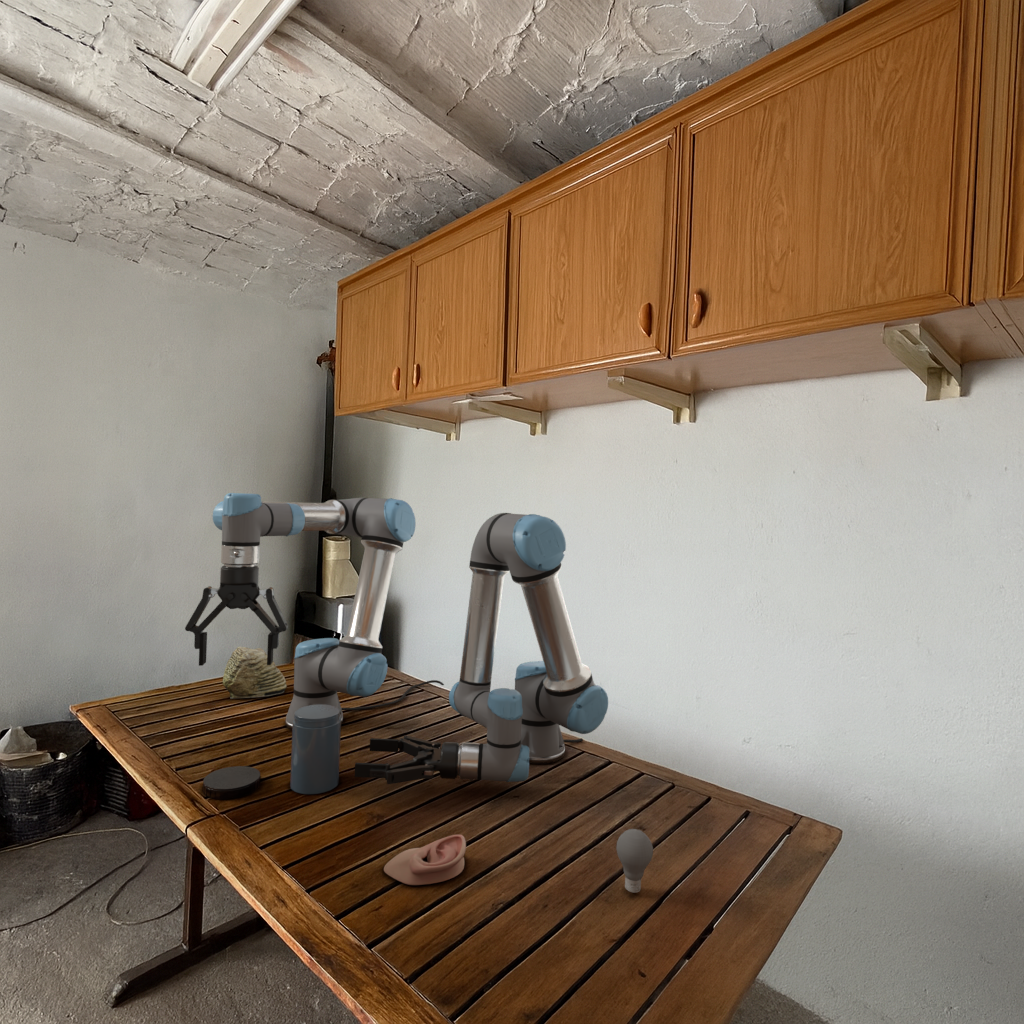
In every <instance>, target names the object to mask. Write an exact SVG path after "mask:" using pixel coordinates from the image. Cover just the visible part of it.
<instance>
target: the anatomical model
mask: <svg viewBox="0 0 1024 1024" xmlns="http://www.w3.org/2000/svg"><path fill="white" fill-rule="evenodd" d="M466 851H467V841H466V838H465V836H464V835H463V834H452V835H448V836H445V837H442V838H439V839H437V840H435V841H432V842H430V843H428V844H426V845H424V846H421V847H412V848H409V849H405V850H403V851H402V852H400V853H398V854H395V856H394V857H392V858H391V859H390V860H389V861H387V863H386V864H385V865H384V867H383V872H384V873H385V874H386V875H387V876H389V877H390V878H392V879H394V880H395V881H398V882H400V883H402V884H405V885H407V886H408V885H409V886H422V885H431V884H437V883H441V882H445V881H448V880H450V879H453V878H455V877H457V876H458V875H460V874H461V873H462V872H463V870H464V868H465V857H464V856H465V854H466Z"/></svg>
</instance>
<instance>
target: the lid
mask: <svg viewBox="0 0 1024 1024" xmlns="http://www.w3.org/2000/svg"><path fill="white" fill-rule="evenodd" d="M261 777H262V776H261V772H260V771H259V769H258V768H256V767H252V766H246V765H237V766H235V765H234V766H228V767H223V768H219V769H217V770H214V771H212V772H210V773H208V774H207V775H206V776H205V777H203V780H202V793H203V795H204V796H205V797H207V798H210V799H212V800H225V801H226V800H234V799H239V798H243V797H246V796H249V795H251V794H252V793H254V792H256V791H257V790H258V789H259V788H260V786H261Z"/></svg>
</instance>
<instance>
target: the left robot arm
mask: <svg viewBox="0 0 1024 1024" xmlns="http://www.w3.org/2000/svg"><path fill="white" fill-rule="evenodd" d="M212 522H213V524H214V526H215V527H216V528H217V529H218V530H220V531H221V549H220V563H221V564H222V566H221V567H220V577H219V579H220V581H219V587H218V588H217V587H212V586H210V585H209V586H206V587H205V588H203V590H202V598H201V599H200V601H199V602H198V604H197V606H196V608H195V610H194V612H193V613H192V615H191V617H190V619H189V620H188V622H187V623H186V625H185V627H184V630H185V631H186V632H191V633H193V634H194V643H193V646H194V647H193V648H194V649H195V650H199V651H198V666H199V667H201V666H204V665H205V664H206V663H207V648H208V632H207V631H204V630H205V629H206V628H207V627H209V625H210V624H211V623H212V622H213V621H214V620H215V619H216V618H217V617H218V616H219V614H221V613H222V611H223V610H224V609H226V608H228V609H229V610H235V609H239V610H247V609H248V608H249V609H250V610H251V612H253V614H255V615H256V616H257V617H258V619H259V620H260V621H261V622H262V623H263V624H264V626H265V627H266V628H267V629H268V630H269V631H270V632H268V634H267V652H266V654H267V665H271V664H272V662H273V661H274V650H276V649H278V647H279V642H280V633H284V632H286V631H287V630H288V628H289V624H288V623H287V620H286V618H285V616H284V614H283V612H282V610H281V608H280V606H279V604H278V602H277V600H276V598H275V590H274V587H271V586H269V587H267V588H260V586H259V575H260V573H259V571H260V567H259V566H258V565H257V564H259V563H260V547H261V537H289V536H296V535H298V534H300V533H301V532H314V531H318V532H319V531H322V532H323V531H324V532H326V533H327V534H330V535H331V534H332V535H345V536H351V537H355V538H361V539H360V543H361V545H362V546H363V547H364V552H363V556H362V561H361V565H360V570H359V575H358V580H357V584H356V585H357V586H356V588H355V594H354V598H353V603H352V607H351V613H350V617H349V618H350V619H349V622H348V627H347V632H346V635H345V636H343V637H342V638H340V639H338V638H335V637H324V638H323V637H322V638H313V639H308V640H304V641H302V642H299V643H298V644H297V645H296V647H295V652H294V653H295V654H294V657H293V659H294V660H293V662H294V663H293V665H294V666H293V695H292V696H293V697H292V699H291V702H290V704H289V708H288V711H287V713H286V715H285V726H286V728H287V729H289V730H292V724H293V720H294V719H295V718H294V713H295V711H296V710H297V709H299V708H302V707H305V706H309V705H319V704H323V705H332V706H335V707H337V708H339V710H340V717H341V724H342V723H343V722H344V714H343V711H361V710H362V711H363V710H370V709H375V708H376V709H377V708H382V707H386V706H390V705H393V704H397V703H399V702H401V701H402V700H403V699H405V698H406V696H407V694H409V692H410V691H411V690H413V689H415V688H418V687H421V686H424V685H429V684H433V683H436V684H439V685H441V686H445V684H444V683H443V681H440V680H436V679H433V680H427V681H423V682H420V683H417V684H414V685H412V686H410V687H408V688H407V689H406V691H405V692H404V693H403V694H402V696H401V697H400V698H398V699H396V700H395V699H394V700H393V701H388V702H385V703H379V704H374V705H367V706H358V707H342V706H341V702H340V699H339V695H338V693H342V694H347V695H350V696H352V697H361V698H362V697H366V698H367V697H370V696H372V695H373V694H375V693H376V692H377V691H378V690H379V689H380V688H381V687H382V685H383V684H384V682H385V679H386V677H387V674H388V669H389V668H388V662H387V661H388V660H387V658H386V656H385V655H383V654H382V653H383V645H382V644H381V642H380V640H379V638H380V633H381V630H382V623H383V620H384V613H385V609H386V604H387V599H388V593H389V590H390V584H391V579H392V574H393V570H394V564H395V560H396V555H397V554H398V553H400V552H401V551H402V550H403V547H404V543H405V542H408V541H410V540H411V539H412V538H413V536H414V534H415V531H416V526H417V525H416V517H415V513H414V511H413V508H412V507H411V505H410V504H409V503H408V502H406V501H405V500H402V499H397V498H393V497H392V498H391V497H390V498H379V497H378V498H377V497H353V498H345V499H328V500H327V501H325V502H297V501H295V502H294V501H290V502H289V501H262V496H261V495H260V494H258V493H245V492H244V493H241V492H228V493H226V494H225V495H224V497H223V500H222V501H220V502H218V503H217V504H216V505H215V507H214V508H213V511H212ZM216 595H217V596H218V598H219V599H220V600H221V601H220V602H219V604H218V605H216V607H215V608H214V609H213V610H212V611H211V612H210V613H209V614H208V615H207V616H206V618H204V619H203V621H202V622H200V624H199V625H197V623H198V622H199V620H200V618H201V616H202V615H203V613H204V611H205V610H206V608H207V607H208V604H209V603H210V601H211V599H212V598H215V596H216ZM260 595H261V596H262V597H263V599H265V600H266V602H267V604H268V607H269V608H270V611H271V613H272V615H273V617H274V619H275V621H276V622H275V621H274V620H273V619H272V618H271V616H270V615H269V614H268V613H267V612H266V610H265V609H264V608H263V607H262V606H261V604H260V603H259V601H258V600H257V599H258V598H259V596H260ZM276 623H277V624H276Z"/></svg>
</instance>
